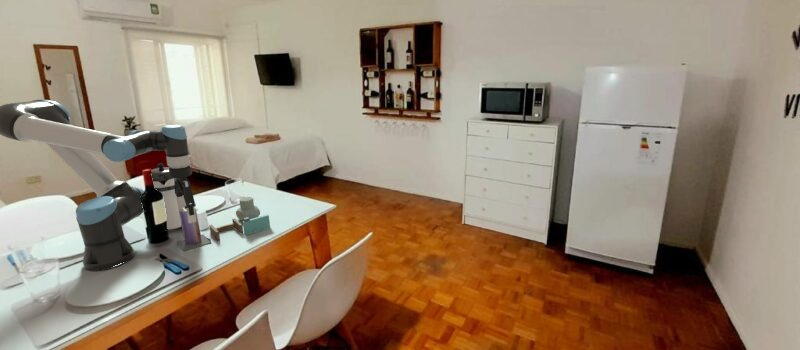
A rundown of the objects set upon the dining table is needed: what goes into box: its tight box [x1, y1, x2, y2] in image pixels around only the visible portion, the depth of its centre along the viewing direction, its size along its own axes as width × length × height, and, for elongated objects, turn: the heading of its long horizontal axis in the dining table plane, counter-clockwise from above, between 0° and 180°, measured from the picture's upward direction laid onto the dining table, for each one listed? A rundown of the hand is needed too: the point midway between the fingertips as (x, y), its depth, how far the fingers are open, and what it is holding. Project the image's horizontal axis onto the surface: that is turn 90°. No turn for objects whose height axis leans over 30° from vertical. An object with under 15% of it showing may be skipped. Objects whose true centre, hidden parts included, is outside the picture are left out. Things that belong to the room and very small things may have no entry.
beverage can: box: [179, 206, 202, 245], centre depth 149 cm, size 6×6×15 cm
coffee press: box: [150, 162, 182, 231], centre depth 161 cm, size 17×16×30 cm
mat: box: [176, 233, 212, 252], centre depth 152 cm, size 10×10×1 cm
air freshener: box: [235, 196, 261, 222], centre depth 173 cm, size 11×8×10 cm
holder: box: [208, 218, 244, 242], centre depth 159 cm, size 11×9×4 cm
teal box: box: [242, 214, 271, 236], centre depth 161 cm, size 11×2×7 cm, turn 132°
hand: (187, 216), depth 148 cm, fingers open, 13 cm apart
